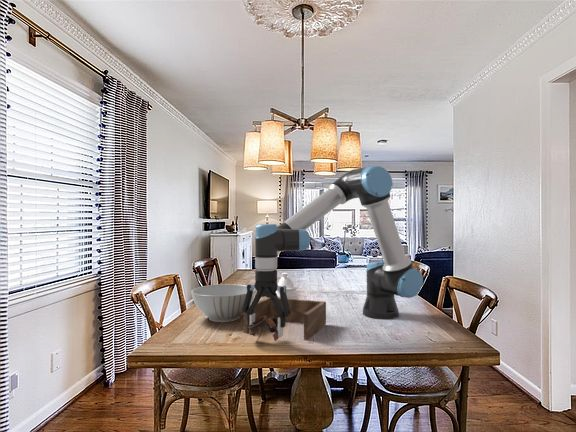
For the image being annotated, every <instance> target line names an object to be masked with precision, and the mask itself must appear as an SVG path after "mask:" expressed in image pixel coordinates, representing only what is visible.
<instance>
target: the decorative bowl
mask: <svg viewBox="0 0 576 432" xmlns="http://www.w3.org/2000/svg"><path fill="white" fill-rule="evenodd" d="M247 285H248V284H247ZM247 285H245V284H240V283H239V284H238V283H237V284H236V283H231V284H230V283H223V284H221V283H220V284H210V285H204V286H203V285H202V286H198V287H195V288H193V289H191V291H190V293H191V297H192V300H193V302H194V304H195V306H196V307H197V309H198V310H199V311H200V312H201V313H202V314H204V316H206V317H208V319H209V321H211V322H215V323H230V322H234V321H238V319H240V316H241V315H243V314H244V312H243V311H242V309H243V305H244V301H245V297H246V294H247ZM256 293H257V291H256V289H255V288H254V290H253V294H252V298H251V302H250V305H251V304H252V302H253V300H254V298H255V295H256Z"/></svg>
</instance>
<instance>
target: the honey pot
mask: <svg viewBox="0 0 576 432" xmlns="http://www.w3.org/2000/svg"><path fill="white" fill-rule="evenodd" d="M288 274H289V273H288V272H282V273H281V278H279V281H278V282H277V284H278V286H282V287H283V286H286V296H287V299H299V300H300V297H299V294H298V292H297V290H298V286H297V285H295V284H294V282H293V280H292V279H291V278H290V276H288ZM276 294H277V296H278V298H281V297H280V293H279V291H278V289H277V291H276Z"/></svg>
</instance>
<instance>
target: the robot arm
mask: <svg viewBox="0 0 576 432" xmlns="http://www.w3.org/2000/svg"><path fill="white" fill-rule="evenodd" d="M392 186H393V178H392V176H391V174H390V172H389V171H388V170H387V169H386V168H384V167H382V166H381V165H380V166H379V165H369V166H364V167H359V168H355V169H351V170H349V171H347V172H346V173H344V174H343V175H342V176H340V177H339V178H337V179H336V180H335V181H334V182H332V183H331V184H329V185H328V189H327V190H325V191H324V192H323V193H321V194H320V195H319V196H317V197H316V198H315V199H313V200H312V201H310V202H309V203H308V204H306V205H305V206H303V208H301V209H299V210H298V211H296V213H294V214H293V215H291V216H290V217H289V218H288V219H286V220H284V221H283V222H281V223H280V224H279V225H277V224H275V223H274V224H273V223H260V224H256V226H255V230H254V241H255V242H254V252H255V253H254V254H255V256H254V258H255V259H254V260H255V261H254V262H255V263H254V265H255V266H254V267H255V271H254V279H255V283H254V284H253V283H248V284H247V294H246V297H245V301H244V305H243V309H242V311H243V312H245V313H247V322H248V324H250V325H252V326H254V325H253V322H255V313H253V311H254V309H255V308H256V306H257V304H258V302H259V301H261V298H267V297H268V298H269V297H270V299H271V300H272V302H273V304H274V306H275V308H276V310H277V312H278V314H279V316H280V317H279V318H278V326H277V330H278V339H281V338H282V337H283V336H284V328H285V327H286V322H287V321H286V317H288V316H289V315H291V311H290V307H289V303H288V299H287V296H286V286H283V287H282V286H278V270H277V268H278V252H294V251H296V252H300V251H306V250H309V249H308V248H309V247H310V246H311V237H310V236H311V235H310V232H309V231H308V228H310V227H312V226H313V225H314V224H316V223H317V222H318V221H319V220H320V219H323V217H324V216H326V215H327V214H329V213H330V212H331V211H333V209H336V207H338V206H339V205H344V204H346V203H348V202H349V201H350V200H355V199H359V202H360V205H361V206H362V207H363V208H366V211H367V214H368V216H369V219H370V223H371V226H372V228H373V232H374V235H375V237H376V240H377V244H378V247H379V251H380V254H381V256H382V259H383V261H372V262H368V263H367V264H366V271H365V272H366V298H365V301H364V303H363V307H362V315H363V316H365V317H367V318H370V319H371V318H372V319H380V320H381V319H382V320H390V319H396V318H398V317H399V312H400V311H399V307H398V305H397V301H396V299H395V296H397V297H398V296H399V297H401V298H406V299H411V298H414V297H416V296H417V295H418V294H419V293H420V291H421V290H422V287H423V285H424V276H423V274H422V273H421V271H420V270H418V269H417V268H414V266H413V262H412V260H411V258H408V257H407V256H406V253H405V250H404V248H403V244H402V240H401V238H400V235H399V231H398V229H397V224H396V222H395V219H394V215H393V212H392V209H391V207H390V203H389V200H390V198H391V196H392V195H391V193H390V192H391V191H392ZM254 288H255V289H256V293H255V296H254V299H253V301H252V303H251V305H250V302H251V298H252V294H253V290H254ZM277 289H278V291H279V293H280V297H281V301H282V305H283V307H282V305H281V303H280V301H279V299H278V296H277V294H276V291H277ZM249 306H250V307H249ZM252 313H253V314H252Z"/></svg>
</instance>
